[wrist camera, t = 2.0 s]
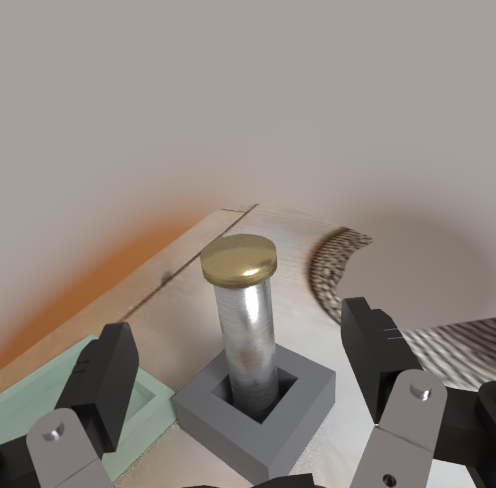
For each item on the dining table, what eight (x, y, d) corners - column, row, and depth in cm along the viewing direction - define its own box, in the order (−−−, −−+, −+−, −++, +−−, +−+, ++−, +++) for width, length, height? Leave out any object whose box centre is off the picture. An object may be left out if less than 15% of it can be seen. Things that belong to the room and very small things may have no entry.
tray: (99, 353, 42) (92, 333, 41) (181, 414, 34) (175, 392, 33) (-38, 449, 33) (-54, 428, 32) (29, 564, 25) (11, 543, 24)
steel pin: (253, 382, 37) (233, 228, 28) (298, 408, 34) (290, 244, 25) (218, 421, 33) (184, 259, 25) (264, 454, 30) (243, 281, 22)
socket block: (249, 357, 40) (246, 329, 38) (334, 402, 34) (335, 372, 32) (180, 428, 33) (172, 398, 31) (271, 499, 27) (267, 467, 25)
